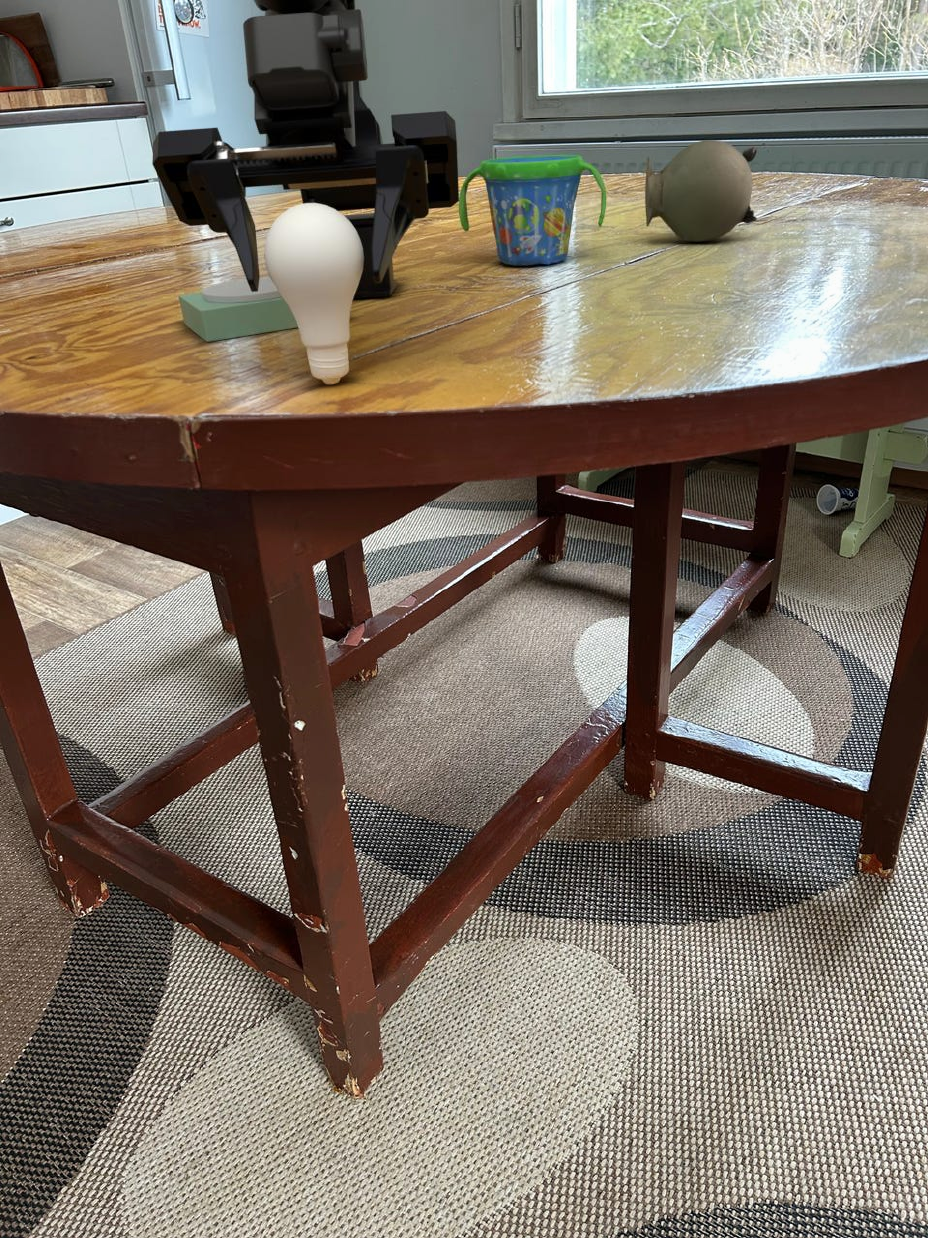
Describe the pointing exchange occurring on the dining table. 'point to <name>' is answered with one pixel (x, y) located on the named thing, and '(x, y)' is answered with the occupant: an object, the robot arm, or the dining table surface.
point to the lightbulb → (317, 280)
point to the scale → (236, 310)
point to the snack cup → (531, 205)
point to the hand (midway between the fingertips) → (314, 283)
